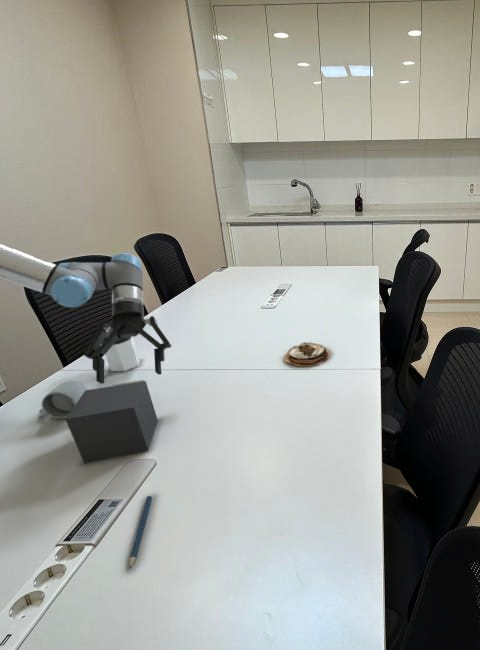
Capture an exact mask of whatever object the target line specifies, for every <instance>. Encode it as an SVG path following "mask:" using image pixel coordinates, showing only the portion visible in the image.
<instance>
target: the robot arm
mask: <svg viewBox="0 0 480 650" xmlns="http://www.w3.org/2000/svg"><path fill="white" fill-rule="evenodd" d="M143 274H144V273H143V266H142V261H141V260H140V258H139V257H138V256H136V255H134V254H131V253H127V252H125V253H123V252H121V253H119V254H115V255H113V256H112V257H111V260H110V261H107V262H78V261H77V262H76V261H71V262H61V263H59V264H55V263H53V262H50V261H47V260H45V259H42V258H39V257H37V256H34V255H32V254H29V253H26V252H24V251H22V250H19V249H16V248H13V247H10V246H8V245H5V244H2V243H0V279H1V280H3V281H7V282H9V283H12V284H15V285H18V286H21V287H24V288H27V289H30V290H34V291H35V292H39V293H41V294H45V295H48V296H50V297H51V298H52V300H54V301H55V302H56V303H57V304H58V305H61V306H62V307H66V308H77V307H81V306H83V305H84V304H85V303H87V302H88V301H89V300H90V299H91V298H92V296H93V295H94V293H95V291H96V290H111V322H110V323H104V322H102V321H100V322H99V323H98V325H97V330H96V332H95V334H94V335H93V337H92V339H91V341H90V343H89V344H88V346H87V347H86V349H85V351H84V353H83V356H84V357H86V358H87V359H89V360H92V370H93V371H95V372H96V373H95V374H96V375H95V376H96V379H95V380H96V382H98V383H99V384H100V385H102V384H105V359H104V358H103V357H104V356H106V355H105V354H106V353H107V351H108V350H109V349H110V348H111V347H112V346H113V345H114V344H115V342H116V341H118V340H120V338H121V337H123V338H127V337H130V336H131V337H133V338H135V337H137V336H139V335H140V336H141V337H143V338H144V339H145V340H146V341H148V342H149V343H150V344H152V346H154V347H155V348H154V349H153V354H154V355H153V356H154V357H153V358H154V372H155V374H157V375H162V362H165V360H166V359H165V357H166V356H165V351H166V349H170V348H172V344H171V343H170V341H169V339H168V338H167V337H166V335H165V334H164V333H163V331H162V330H161V329H160V328H161V327H159V324H158V320H157V318H155V316H149V318H145V310H144V308H145V307H144V286H143V285H144V283H143V282H144V281H143V276H144V275H143ZM146 326H149V327H152V329H153V330H154V332H155V333H156V334H157V336H158V337H159V338H160V340H161V342H162V343H160V342H159V341H158V340H157V339H156V338H154V337H153V336H152V335H151V334H149V333H148V332H147V331H146V330H145V329H144V328H145V327H146ZM110 329H113V331H112V332H111V333H110V335H109V336H108V338H107V339H106V340H105V341H104V342H103V343H102V341H103V339H104V338H105V336H106V333H107V332H109V330H110ZM116 334H117V335H116Z"/></svg>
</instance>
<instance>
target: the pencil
mask: <svg viewBox="0 0 480 650" xmlns="http://www.w3.org/2000/svg"><path fill="white" fill-rule="evenodd" d="M152 499H153V497H152V496H151V495H148V496H146V499H145V503H144V506H143V510H142V513H141V516H140V519H139V524H138V527H137V531H136V535H135V538H134V541H133V544H132V547H131V548H132V549H131V552H130V555H129V568H130V569H131V568H132V567H133V564H134V563H135V561H136V559H137V555H138V552H139V549H140V544H141V541H142V537H143V533H144V529H145V527H146V526H145V525H146V522H147V518H148V514H149V510H150V508H151V507H150V506H151V503H152Z"/></svg>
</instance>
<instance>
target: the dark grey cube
mask: <svg viewBox="0 0 480 650" xmlns="http://www.w3.org/2000/svg"><path fill="white" fill-rule="evenodd" d="M64 419H65V421H66V422H65V423H66V424H67V427H68V429H69V431H70V433H71V436H72V438H73V441H74V443H75V445H76V448H77V450H78V452H79V455H80V457H81V460H82V462H83V464H88V463H92V462H97V461H102V460H107V459H112V458H117V457H118V458H119V457H122V456H123V457H124V456H128V455H133V454H138V453H142V452H148V451H149V450H150V447H151V443H152V440H153V437H154V434H155V432H156V428H157V425H158V422H159V419H158V417H157V413H156V409H155V407H154V403H153V400H152V397H151V393H150V390H149V387H148V383H147V380H144V381H142V382H136V383H129V384H123V385H117V386H113V385H112V386H105V387H104V386H103V387H97V388H92V389H87V390H85V392H84V393H83V395H82V396H81V397H80V399H79V400H78V402H77V403H76V405H75V406H74V407H73V409H72V410H71V412H70V413H69V415H68V416H67V417H66V418H64Z"/></svg>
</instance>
